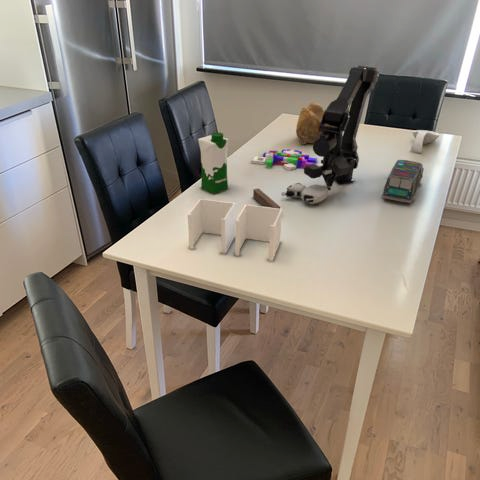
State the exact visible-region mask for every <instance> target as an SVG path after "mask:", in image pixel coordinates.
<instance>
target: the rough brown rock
mask: <svg viewBox="0 0 480 480" xmlns="http://www.w3.org/2000/svg"><path fill="white" fill-rule="evenodd" d="M324 111H325V110H324V109H323V107H322V106H321V105H320V104H319V103H316V102H310V104H309V105H308V107H305V106H304V107H302V108H301V109H300V112H299V116H298V120H297V122H296V129H295V133H296V134H295V135H296V137H297V138H298V140H299V142H300V144H301V145H307V144H314V142H315V141H316V140H317V139H318V138H320V134H322V133H323V131H318V129H319V126H320V123H321V120H322V117H323V114H324ZM324 126H329V127H332V126H330V125H326V124H325V125H324Z"/></svg>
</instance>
